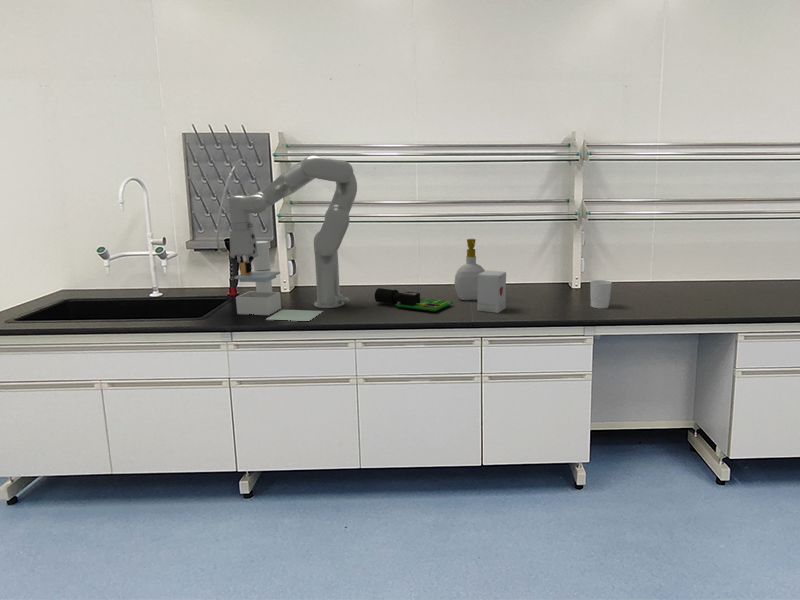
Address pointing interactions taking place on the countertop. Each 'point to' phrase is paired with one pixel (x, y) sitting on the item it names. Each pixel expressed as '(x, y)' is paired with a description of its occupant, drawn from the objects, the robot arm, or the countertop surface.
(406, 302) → the electronic board model
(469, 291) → the soap bottle
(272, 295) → the tub
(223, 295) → the countertop surface
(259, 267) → the tall grey box
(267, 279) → the lid
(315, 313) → the mat
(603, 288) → the white cup
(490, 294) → the supplement box
